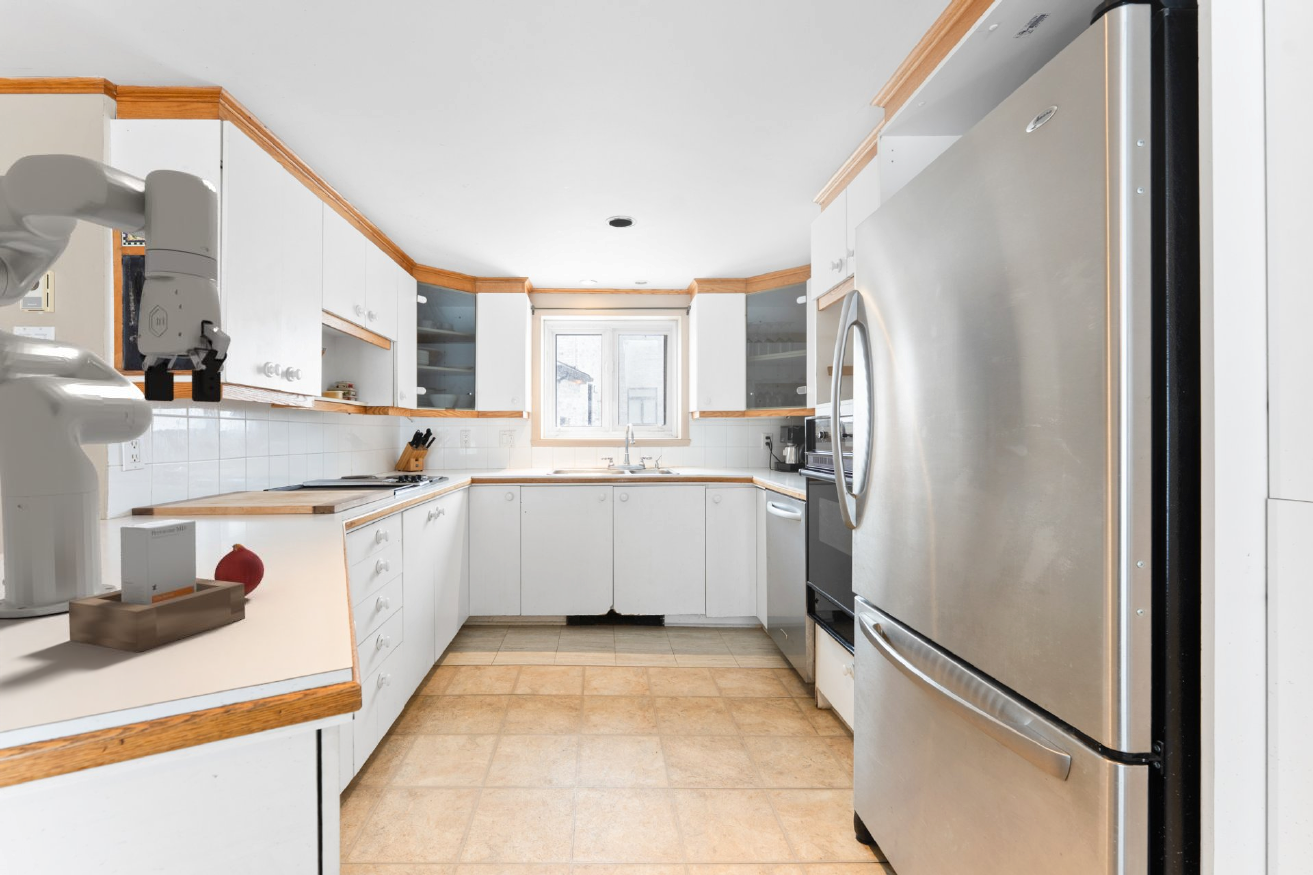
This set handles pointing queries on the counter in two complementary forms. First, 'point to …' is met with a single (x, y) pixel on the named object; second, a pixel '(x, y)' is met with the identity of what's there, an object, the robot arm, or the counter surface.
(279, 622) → the counter surface
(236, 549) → the onion
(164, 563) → the skincare box
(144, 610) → the wooden tray
